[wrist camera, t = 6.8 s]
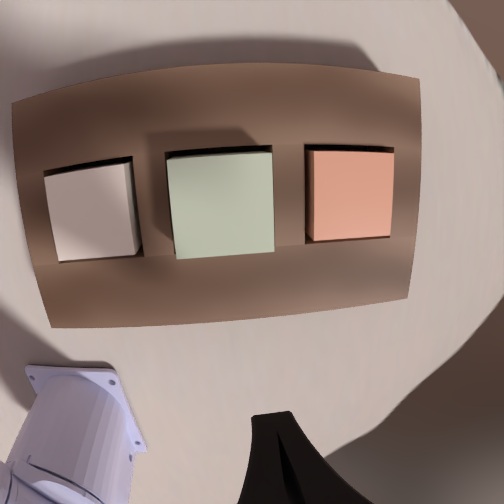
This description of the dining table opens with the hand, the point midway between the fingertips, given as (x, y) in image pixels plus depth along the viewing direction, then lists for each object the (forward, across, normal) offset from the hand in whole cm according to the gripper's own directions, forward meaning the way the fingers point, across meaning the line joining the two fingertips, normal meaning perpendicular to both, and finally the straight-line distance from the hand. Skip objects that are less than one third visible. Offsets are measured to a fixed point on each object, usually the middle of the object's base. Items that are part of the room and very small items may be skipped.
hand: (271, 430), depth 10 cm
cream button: (+9, +7, -7) cm, 13 cm away
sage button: (+8, +1, -7) cm, 11 cm away
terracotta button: (+9, -5, -7) cm, 12 cm away
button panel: (+9, +1, -7) cm, 12 cm away
